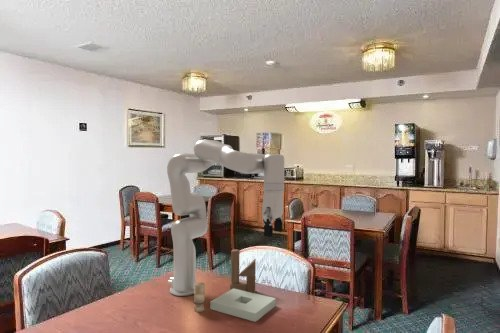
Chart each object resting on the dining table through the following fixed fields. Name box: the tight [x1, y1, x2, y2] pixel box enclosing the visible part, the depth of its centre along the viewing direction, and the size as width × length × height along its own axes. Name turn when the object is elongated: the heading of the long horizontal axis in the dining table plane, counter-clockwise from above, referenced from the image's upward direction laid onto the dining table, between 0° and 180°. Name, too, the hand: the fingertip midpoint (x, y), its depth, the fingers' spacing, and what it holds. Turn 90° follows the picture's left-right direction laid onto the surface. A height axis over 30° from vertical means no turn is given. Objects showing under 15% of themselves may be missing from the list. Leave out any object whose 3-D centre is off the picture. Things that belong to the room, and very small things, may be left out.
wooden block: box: [229, 248, 257, 294], centre depth 152 cm, size 4×11×18 cm, turn 84°
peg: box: [193, 281, 206, 313], centre depth 132 cm, size 4×4×10 cm
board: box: [210, 288, 277, 323], centre depth 135 cm, size 20×16×3 cm
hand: (273, 233), depth 129 cm, fingers open, 9 cm apart
